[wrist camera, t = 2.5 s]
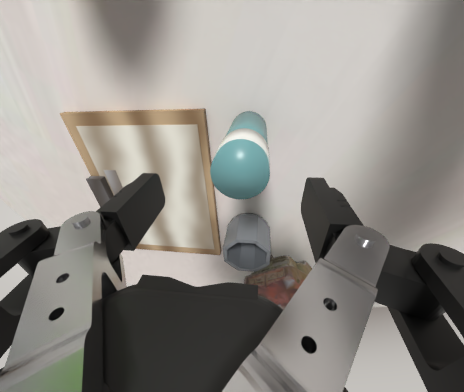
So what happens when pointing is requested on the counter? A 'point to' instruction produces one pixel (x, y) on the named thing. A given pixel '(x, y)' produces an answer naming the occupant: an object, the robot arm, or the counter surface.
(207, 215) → the clipboard
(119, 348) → the robot arm
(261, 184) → the teal rounded cylinder
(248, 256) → the pen cup
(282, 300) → the decorative box
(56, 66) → the counter surface
